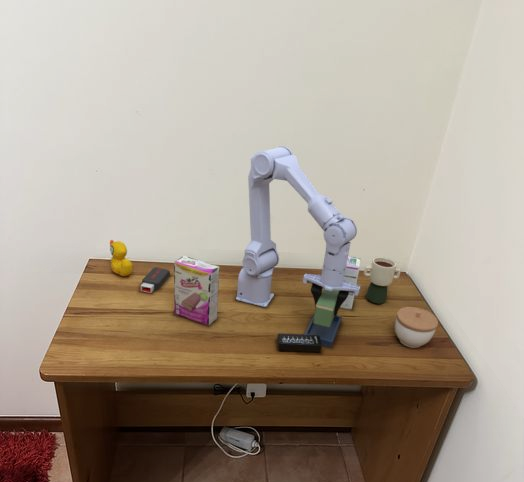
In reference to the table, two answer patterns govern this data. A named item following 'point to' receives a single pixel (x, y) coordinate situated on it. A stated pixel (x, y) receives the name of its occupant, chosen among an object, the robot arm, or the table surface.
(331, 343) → the desk tray
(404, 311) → the trinket box
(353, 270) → the syrup box
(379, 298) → the character mug
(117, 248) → the duckling
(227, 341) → the table surface
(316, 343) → the multiport hub
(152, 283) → the usb drive
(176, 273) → the candy bar box
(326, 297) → the green box
